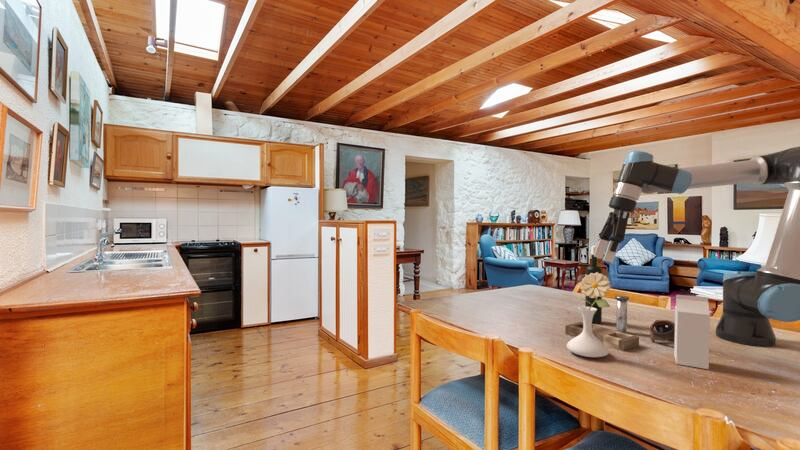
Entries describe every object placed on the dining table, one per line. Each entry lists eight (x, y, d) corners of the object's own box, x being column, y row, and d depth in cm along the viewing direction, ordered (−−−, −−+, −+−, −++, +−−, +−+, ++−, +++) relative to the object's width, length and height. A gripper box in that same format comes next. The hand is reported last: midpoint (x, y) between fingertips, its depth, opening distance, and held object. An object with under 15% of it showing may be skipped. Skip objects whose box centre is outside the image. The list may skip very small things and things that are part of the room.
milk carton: (708, 370, 102) (710, 299, 102) (676, 364, 106) (677, 296, 106) (704, 361, 109) (706, 295, 108) (674, 356, 112) (675, 292, 112)
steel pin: (630, 332, 136) (631, 297, 135) (624, 334, 133) (625, 298, 133) (618, 329, 139) (619, 294, 139) (612, 331, 137) (613, 296, 137)
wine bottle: (583, 319, 153) (584, 245, 152) (598, 320, 152) (599, 245, 151) (588, 323, 147) (589, 246, 146) (603, 324, 146) (605, 246, 146)
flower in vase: (558, 350, 117) (559, 269, 117) (584, 345, 122) (586, 267, 121) (594, 365, 105) (596, 275, 105) (623, 359, 110) (624, 273, 109)
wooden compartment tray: (638, 346, 121) (639, 336, 121) (623, 351, 117) (623, 341, 117) (580, 330, 138) (580, 321, 138) (565, 334, 134) (565, 325, 134)
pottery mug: (694, 349, 121) (686, 328, 119) (664, 359, 122) (655, 339, 121) (670, 328, 132) (663, 309, 131) (643, 338, 134) (635, 320, 132)
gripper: (603, 197, 138) (583, 253, 140) (623, 192, 114) (599, 259, 116) (625, 203, 136) (605, 259, 138) (650, 199, 112) (626, 267, 114)
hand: (602, 259), depth 127 cm, fingers open, 13 cm apart
